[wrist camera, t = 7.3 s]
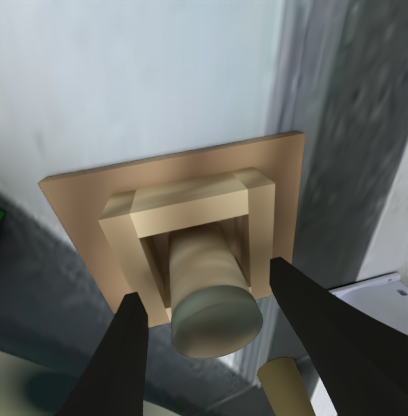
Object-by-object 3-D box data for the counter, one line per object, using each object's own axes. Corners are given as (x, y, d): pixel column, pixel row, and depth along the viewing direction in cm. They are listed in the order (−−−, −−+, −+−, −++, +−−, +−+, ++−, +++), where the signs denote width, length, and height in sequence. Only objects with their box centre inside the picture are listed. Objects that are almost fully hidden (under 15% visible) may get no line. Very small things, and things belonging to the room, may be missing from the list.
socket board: (296, 130, 14) (342, 142, 10) (285, 261, 19) (311, 296, 16) (46, 177, 12) (0, 208, 9) (116, 303, 18) (105, 352, 14)
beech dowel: (220, 208, 14) (264, 291, 8) (224, 253, 16) (261, 345, 10) (162, 219, 14) (162, 315, 8) (173, 263, 16) (179, 367, 10)
